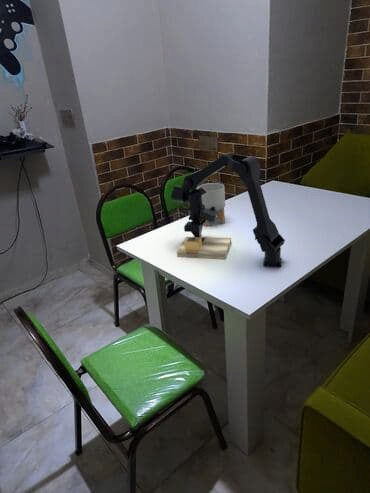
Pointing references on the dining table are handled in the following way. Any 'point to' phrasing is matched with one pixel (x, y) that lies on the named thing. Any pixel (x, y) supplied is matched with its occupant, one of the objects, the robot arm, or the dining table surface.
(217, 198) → the planter
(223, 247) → the subfloor board
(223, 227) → the dining table surface
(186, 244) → the block
